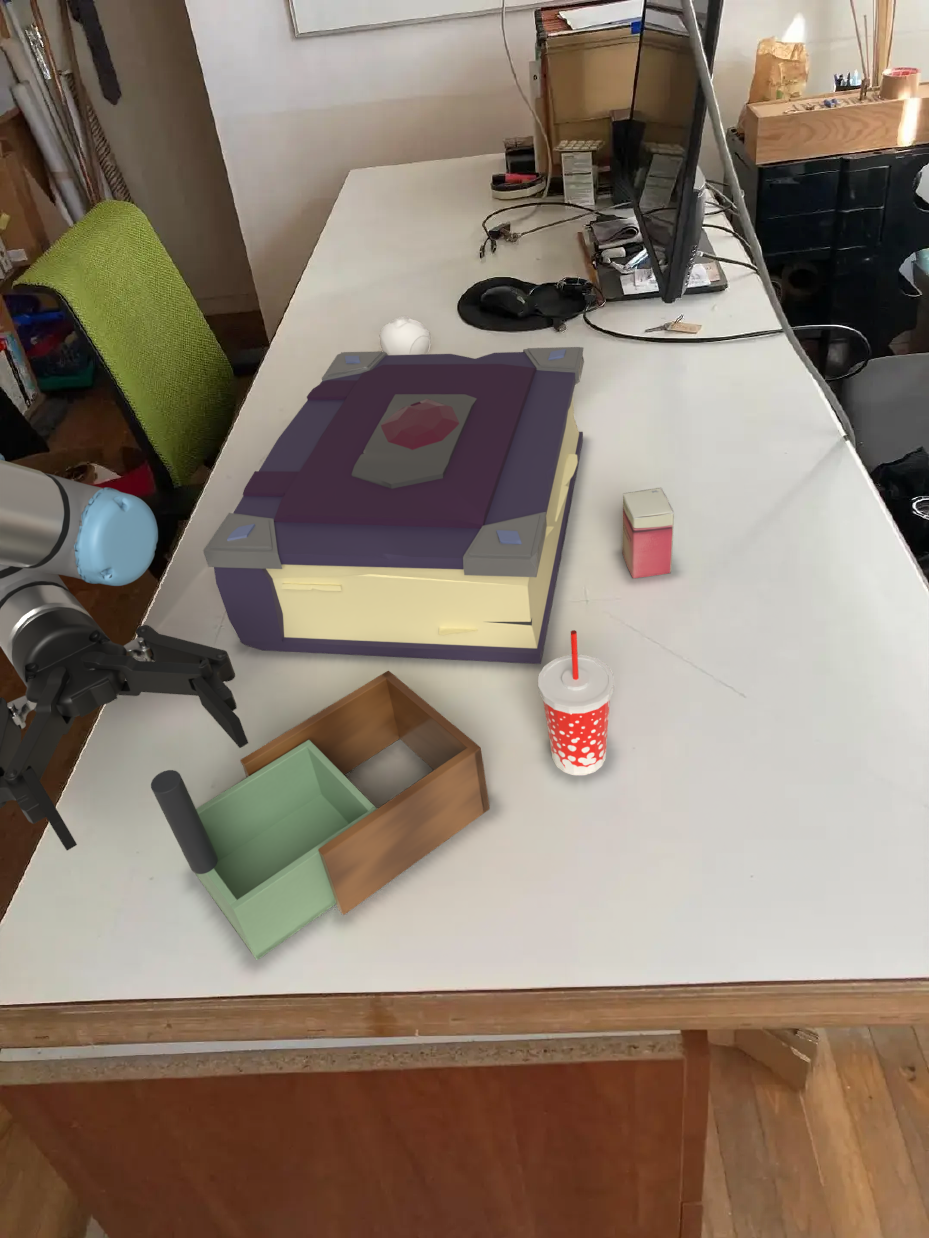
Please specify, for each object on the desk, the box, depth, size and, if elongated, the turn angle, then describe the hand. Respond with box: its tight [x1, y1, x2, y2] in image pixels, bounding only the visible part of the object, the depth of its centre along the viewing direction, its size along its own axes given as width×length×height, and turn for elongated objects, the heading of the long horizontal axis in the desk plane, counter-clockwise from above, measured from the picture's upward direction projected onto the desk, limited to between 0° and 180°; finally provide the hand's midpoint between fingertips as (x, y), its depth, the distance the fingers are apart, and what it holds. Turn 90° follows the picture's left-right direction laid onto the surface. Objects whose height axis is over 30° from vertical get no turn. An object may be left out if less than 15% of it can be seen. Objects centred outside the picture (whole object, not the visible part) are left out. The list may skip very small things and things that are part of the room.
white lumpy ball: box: [378, 315, 432, 355], centre depth 144 cm, size 8×8×8 cm
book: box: [202, 346, 585, 665], centre depth 105 cm, size 33×45×14 cm
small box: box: [621, 487, 675, 579], centre depth 97 cm, size 5×4×8 cm
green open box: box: [150, 740, 378, 961], centre depth 69 cm, size 13×10×16 cm
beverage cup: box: [537, 629, 615, 776], centre depth 76 cm, size 6×6×14 cm
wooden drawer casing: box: [240, 670, 490, 916], centre depth 75 cm, size 15×13×8 cm
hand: (156, 782), depth 66 cm, fingers open, 13 cm apart
